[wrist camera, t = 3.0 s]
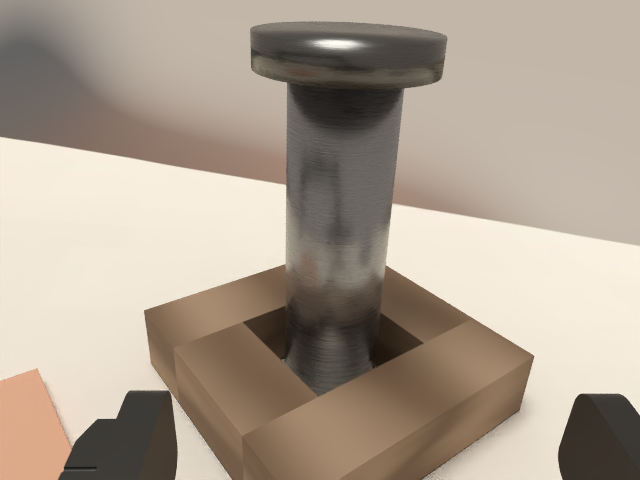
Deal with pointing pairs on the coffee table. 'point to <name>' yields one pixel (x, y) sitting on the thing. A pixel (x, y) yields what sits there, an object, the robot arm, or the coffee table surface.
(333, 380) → the peg
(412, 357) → the collar
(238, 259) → the coffee table surface
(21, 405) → the pad
